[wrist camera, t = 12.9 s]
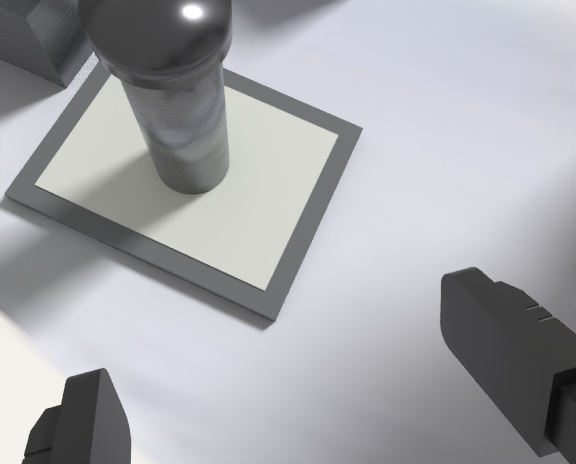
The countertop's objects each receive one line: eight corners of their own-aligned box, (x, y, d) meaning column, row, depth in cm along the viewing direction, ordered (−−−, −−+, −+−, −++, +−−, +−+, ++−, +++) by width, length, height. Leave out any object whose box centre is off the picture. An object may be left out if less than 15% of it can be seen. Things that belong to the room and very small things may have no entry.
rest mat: (127, 33, 27) (124, 24, 26) (360, 133, 26) (363, 127, 26) (10, 199, 24) (3, 193, 23) (274, 321, 23) (275, 319, 22)
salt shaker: (221, 111, 25) (205, -69, 15) (249, 187, 24) (251, 43, 14) (137, 135, 24) (62, -40, 15) (161, 213, 23) (98, 82, 13)
